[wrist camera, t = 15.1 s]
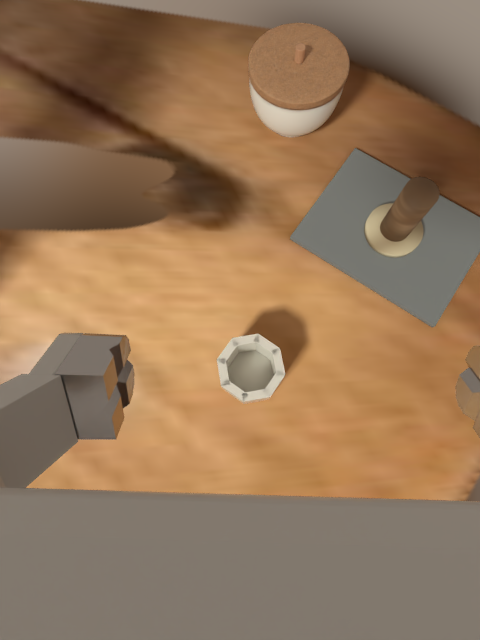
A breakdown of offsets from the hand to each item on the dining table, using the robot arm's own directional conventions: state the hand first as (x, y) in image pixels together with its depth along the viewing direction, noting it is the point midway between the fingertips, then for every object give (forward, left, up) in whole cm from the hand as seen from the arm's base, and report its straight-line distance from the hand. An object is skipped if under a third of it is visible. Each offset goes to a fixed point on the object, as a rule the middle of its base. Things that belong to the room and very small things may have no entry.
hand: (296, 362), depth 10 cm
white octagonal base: (-3, +2, -31) cm, 32 cm away
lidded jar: (-17, +31, -32) cm, 48 cm away
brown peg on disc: (+1, +24, -31) cm, 39 cm away
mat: (+1, +24, -31) cm, 40 cm away
